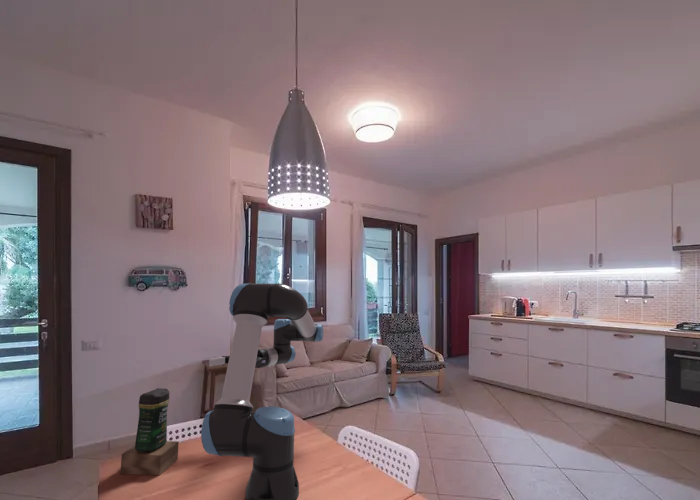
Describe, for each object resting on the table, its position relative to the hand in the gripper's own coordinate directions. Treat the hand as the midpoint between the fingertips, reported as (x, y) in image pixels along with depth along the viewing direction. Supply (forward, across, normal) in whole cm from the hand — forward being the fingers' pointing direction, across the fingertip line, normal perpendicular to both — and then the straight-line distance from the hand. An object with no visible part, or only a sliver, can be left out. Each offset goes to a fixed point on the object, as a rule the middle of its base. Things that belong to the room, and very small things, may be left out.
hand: (219, 365), depth 139 cm
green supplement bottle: (+20, +6, -25) cm, 33 cm away
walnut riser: (+20, +6, -31) cm, 37 cm away
